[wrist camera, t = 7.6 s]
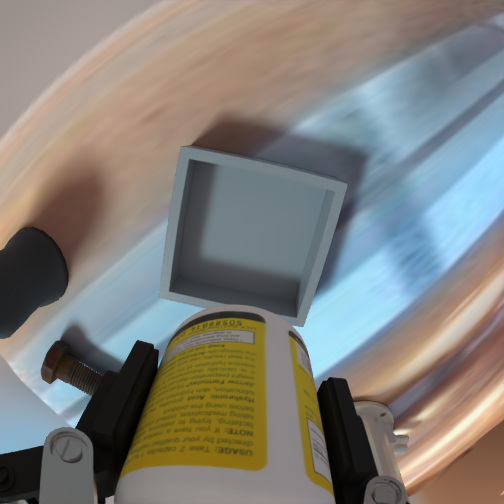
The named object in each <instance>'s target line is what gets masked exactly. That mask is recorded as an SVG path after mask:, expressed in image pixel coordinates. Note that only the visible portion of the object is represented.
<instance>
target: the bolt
mask: <svg viewBox="0 0 504 504" xmlns="http://www.w3.org/2000/svg"><path fill="white" fill-rule="evenodd" d="M68 349H69V345H67V344H66V343H64V342H63V341H55V343H54V344H53V345H52V346H51V348H50V349H49V351H48V352H47V354H46V357H45V359H44V362H43V365H42V368H41V376H42V379H43V380H44V381H46V382H47V383H49V384H51V383H52V382H54V381H55V380H56V379H57V378H58V379H60V380H62V381H63V382H65V383H69V384H70V385H71V384H72V386H74V387H77V389H78V388H79V390H81V391H84V393H86V394H88V393H89V395H91V396H93V394H94V392H95V391H96V389H97V387H98V385H99V383H100V382H101V380H102V378H103V375H101V373H100V374H98V372H97V373H96V371H94V370H91V368H90V369H89V367H86V365H85V366H84V364H82V363H79V361H77V360H76V359H75V358H73V357H72V356H70V355H68V354H67V353H68Z"/></svg>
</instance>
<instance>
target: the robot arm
mask: <svg viewBox="0 0 504 504" xmlns="http://www.w3.org/2000/svg"><path fill="white" fill-rule="evenodd" d="M158 356H159V350H157V349H154V345H153V344H151V343H147V342H143V341H139V340H137V341H136V343H135V344H134V346H133V348H132V350H131V352H130V354H129V356H128V357H127V359H126V361H125V363H124V365H123V367H122V369H121V371H120V372H119V373H116V372H112V371H109V370H108V371H107V372H106V373H105V375H104V376H103V378H102V380H101V382H100V383H99V385H98V387H97V389H96V391H95V392H94V394H93V396H92V398H91V400H90V401H89V403H88V405H87V407H86V409H85V411H84V412H83V414H82V416H81V418H80V420H79V422H78V424H77V426H76V427H75V429H74V428H70V427H62V428H58V429H55V430H54V431H52V432H50V433H49V435H48V436H47V437H46V440H45V443H44V445H43V446H38V447H34V448H30V449H25V450H20V451H15V452H11V453H5V454H0V504H108V501H107V497H110V496H113V495H115V492H116V488H117V484H118V481H119V478H120V475H121V472H122V469H123V466H124V463H125V460H126V457H127V454H128V451H129V448H130V445H131V442H132V440H133V437H134V434H135V431H136V428H137V425H138V422H139V419H140V416H141V414H142V411H143V408H144V405H145V402H146V400H147V397H148V394H149V391H150V389H151V386H152V383H153V381H154V378H155V376H156V373H157V370H158ZM317 399H318V405H319V410H320V416H321V421H322V427H323V432H324V437H325V442H326V449H327V454H328V461H329V467H330V473H331V479H332V486H333V492H334V498H335V504H410V502H409V499H408V495H407V492H406V489H405V486H404V483H403V480H402V477H401V474H400V471H399V467H398V464H397V462H396V459H395V456H394V455H404V454H406V452H407V449H408V447H407V444H406V443H407V442H408V440H409V436H408V435H407V434H404V435H395V434H394V433H393V431H392V429H393V425H394V418H393V415H392V413H391V411H390V409H389V408H388V407H386V406H385V405H383V404H381V403H377V402H373V401H359V402H353V399H352V396H351V393H350V390H349V386H348V383H347V381H346V379H343V378H333V377H329V378H328V380H327V381H323V382H322V383H321V385H320V388H319V390H318V392H317Z"/></svg>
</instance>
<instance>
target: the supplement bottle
mask: <svg viewBox="0 0 504 504" xmlns="http://www.w3.org/2000/svg"><path fill="white" fill-rule="evenodd" d="M114 504H335V498H334V492H333V486H332V479H331V473H330V467H329V461H328V454H327V449H326V442H325V437H324V432H323V427H322V421H321V416H320V410H319V405H318V399H317V393H316V388H315V383H314V378H313V373H312V368H311V364H310V359H309V355H308V351H307V348H306V345H305V343H304V341H303V339H302V338H301V336H300V334H299V333H298V332H297V331H296V330H295V328H294V327H293V326H292V325H290V324H289V323H288V322H287V321H285V320H284V319H283V318H281V317H279V316H278V315H276V314H274V313H272V312H269V311H267V310H264V309H261V308H257V307H253V306H247V305H221V306H215V307H211V308H208V309H205V310H202V311H200V312H198V313H196V314H194V315H192V316H191V317H189V318H188V319H186V320H185V321H184V322H183V323H182V324H181V325H180V326H179V327H178V328H177V330H176V331H175V332H174V334H173V336H172V337H171V339H170V341H169V344H168V346H167V348H166V351H165V353H164V355H163V358H162V360H161V363H160V365H159V368H158V370H157V373H156V376H155V378H154V381H153V383H152V386H151V389H150V391H149V394H148V397H147V400H146V402H145V405H144V408H143V411H142V414H141V416H140V419H139V422H138V425H137V428H136V431H135V434H134V437H133V440H132V442H131V445H130V448H129V451H128V454H127V457H126V460H125V463H124V466H123V469H122V472H121V475H120V478H119V481H118V484H117V488H116V492H115V497H114Z"/></svg>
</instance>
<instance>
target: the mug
mask: <svg viewBox="0 0 504 504" xmlns="http://www.w3.org/2000/svg"><path fill="white" fill-rule="evenodd" d="M67 285H68V270H67V266H66V261H65V259H64V257H63V254H62V252H61V250H60V248H59V247H58V245H57V244H56V243H55V242H54V240H53V239H52V238H51V237H50V236H49V235H47V234H46V233H45V232H44V231H42V230H39V229H37V228H34V227H29V228H23V229H21V230H20V231H18V232H17V233H16V234H15V235H14V236H13V237H12V238H11V239H10V240H9V241H8V243H7V244H6V246H5V248H4V249H2V250H0V339H5V338H9V337H10V336H11V335H12V334H13V333H14V332H15V331H16V330H17V329H18V328H19V327H20V326H22V325H23V324H24V322H25V321H26V320H27V319H28V318H29V316H30V315H31V314H32V313H33V312H34V311H35V310H36V309H37V308H39V307H43V306H46V305H49V304H51V303H53V302H55V301H57V300H59V299H60V298H61V297H62V296H63V295H64V293H65V291H66V288H67Z"/></svg>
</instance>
